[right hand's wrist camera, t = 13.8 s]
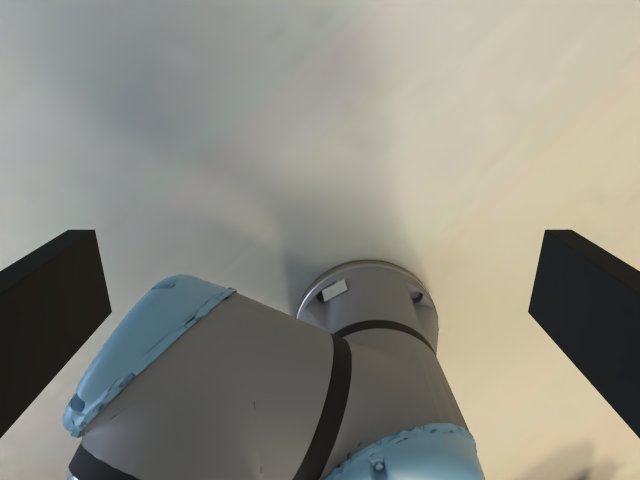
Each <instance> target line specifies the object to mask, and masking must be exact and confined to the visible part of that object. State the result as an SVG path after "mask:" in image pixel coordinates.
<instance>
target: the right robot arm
mask: <svg viewBox="0 0 640 480" xmlns="http://www.w3.org/2000/svg"><path fill="white" fill-rule="evenodd" d="M236 292H237V290H236V289H234V288H227V289H226V288H224V287H221V286H218V285H215V284H212V283H210V282H207V281H204V280H201V279H199V278H196V277H193V276H190V275H174V276H171V277H169V278H166V279H164V280H163V281H161V282H159V283H158V284H156V285H155V286H154V287H153V288H152V289H151V290H150V291H149V292H147V293H146V294H145V295H144V296H143V297H142V298H141V299H140V301H139V302H138V303H137V304H136V305H135V306H134V307H133V308H132V309H131V311H130V312H129V313H128V314H127V315H126V317H125V318H124V319H123V320H122V322H121V323H120V324H119V325H118V327H117V328H116V329H115V331H114V332H113V333H112V334H111V336H110V337H109V339H108V340H107V341H106V343H105V344H104V345H103V347H102V348H101V350H100V351H99V353H98V354H97V356H96V357H95V359H94V360H93V361H92V363H91V365H90V366H89V368H88V369H87V371H86V372H85V374H84V376H83V377H82V379H81V381H80V382H79V384H78V386H77V389H76V393H75V394H74V396H73V397H72V399H71V401H70V402H69V404H68V405H67V407H66V410H65V412H64V415H63V426H64V427H65V428H66V429H67V430H68V431H70V434H71V436H73V437H77V438H79V437H81V436H83V437H82V441H81V443H80V445H79V447H78V449H77V451H76V453H75V455H74V457H73V459H72V461H71V463H70V464H69V466H68V468H67V470H66V477H67V480H485V477H484V474H483V471H482V468H481V465H480V462H479V459H478V457H477V450H476V443H475V440H474V438H473V436H472V435H471V433H470V432H469V430H468V428H467V425H466V423H465V421H464V418H463V416H462V414H461V412H460V409H459V407H458V405H457V403H456V400H455V398H454V396H453V393H452V391H451V389H450V387H449V384H448V382H447V380H446V377H445V375H444V373H443V371H442V368H441V366H440V364H439V362H438V359H437V357H436V352H437V342H438V317H437V312H436V309H435V306H434V304H433V301H432V299H431V297H430V295H429V293H428V292H427V290H426V288H425V287H424V286H423V284H422V283H421V282H420V281H419V280H418V279H417V278H416V277H415V276H413V275H412V274H411V273H409V272H408V271H406V270H404V269H402V268H400V267H398V266H396V265H393V264H390V263H386V262H381V261H369V260H367V261H356V262H351V263H346V264H343V265H340V266H338V267H335V268H333V269H331V270H329V271H328V272H326V273H325V274H323V275H322V276H320V277H319V278H318V279H317V280H316V281H315V282H314V283H313V284H312V285H311V286H310V287H309V288H308V289H307V291H306V292H305V294H304V296H303V298H302V299H301V302H300V304H299V307H298V311H297V317H296V318H294V317H292V316H290V315H287V314H285V313H283V312H280V311H278V310H276V309H273V308H271V307H268V306H266V305H264V304H261V303H259V302H257V301H254V300H252V299H250V298H247V297H245V296H243V295H240V294H238V293H236ZM111 312H112V310H111V305H110V301H109V296H108V291H107V286H106V281H105V277H104V272H103V267H102V262H101V257H100V253H99V248H98V243H97V238H96V233H95V230H67V231H66V232H64V233H62V234H61V235H59V236H57V237H56V238H54V239H53V240H51V241H49V242H48V243H46V244H44V245H43V246H41V247H39V248H38V249H36V250H35V251H33V252H31V253H30V254H28V255H26V256H25V257H23V258H21V259H20V260H18V261H16V262H15V263H13V264H12V265H10V266H8V267H7V268H5V269H3V270H2V271H0V438H1V437H2V436H3V435H4V434H5V432H6V431H7V430H8V429H9V428H10V427H11V426H12V425H13V423H14V422H15V421H16V420H17V419H18V418H19V417H20V415H21V414H22V413H23V412H24V411H25V410H26V409H27V408H28V406H29V405H30V404H31V403H32V402H33V401H34V400H35V398H36V397H37V396H38V395H39V394H40V393H41V392H42V391H43V389H44V388H45V387H46V386H47V385H48V384H49V383H50V381H51V380H52V379H53V378H54V377H55V376H56V375H57V374H58V372H59V371H60V370H61V369H62V368H63V367H64V366H65V365H66V363H67V362H68V361H69V360H70V359H71V358H72V357H73V355H74V354H75V353H76V352H77V351H78V350H79V349H80V348H81V346H82V345H83V344H84V343H85V342H86V341H87V340H88V338H89V337H90V336H91V335H92V334H93V333H94V332H95V331H96V329H97V328H98V327H99V326H100V325H101V324H102V323H103V321H104V320H105V319H106V318H107V317H108V316H109V315H110V314H111ZM528 312H529V314H530V315H531V316H532V317H533V318H534V319H535V320H536V321H537V323H538V324H539V325H540V326H541V327H542V328H543V329H544V331H545V332H546V333H547V334H548V335H549V336H550V337H551V338H552V340H553V341H554V342H555V343H556V344H557V345H558V346H559V348H560V349H561V350H562V351H563V352H564V353H565V354H566V355H567V357H568V358H569V359H570V360H571V361H572V362H573V363H574V365H575V366H576V367H577V368H578V369H579V370H580V371H581V372H582V374H583V375H584V376H585V377H586V378H587V379H588V380H589V381H590V383H591V384H592V385H593V386H594V387H595V388H596V389H597V391H598V392H599V393H600V394H601V395H602V396H603V397H604V398H605V400H606V401H607V402H608V403H609V404H610V405H611V406H612V408H613V409H614V410H615V411H616V412H617V413H618V414H619V415H620V417H621V418H622V419H623V420H624V421H625V422H626V423H627V425H628V426H629V427H630V428H631V429H632V430H633V431H634V432H635V434H636V435H637V436H638V437H639V438H640V271H638V270H637V269H635V268H633V267H632V266H630V265H628V264H627V263H625V262H623V261H622V260H620V259H619V258H617V257H615V256H614V255H612V254H610V253H609V252H607V251H605V250H604V249H602V248H601V247H599V246H597V245H596V244H594V243H592V242H591V241H589V240H587V239H586V238H584V237H583V236H581V235H579V234H578V233H576V232H574V231H573V230H545V233H544V238H543V243H542V248H541V253H540V257H539V262H538V267H537V272H536V277H535V281H534V286H533V291H532V296H531V301H530V305H529V310H528Z"/></svg>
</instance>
